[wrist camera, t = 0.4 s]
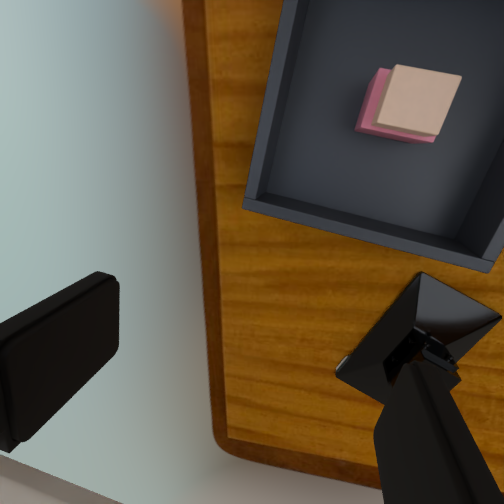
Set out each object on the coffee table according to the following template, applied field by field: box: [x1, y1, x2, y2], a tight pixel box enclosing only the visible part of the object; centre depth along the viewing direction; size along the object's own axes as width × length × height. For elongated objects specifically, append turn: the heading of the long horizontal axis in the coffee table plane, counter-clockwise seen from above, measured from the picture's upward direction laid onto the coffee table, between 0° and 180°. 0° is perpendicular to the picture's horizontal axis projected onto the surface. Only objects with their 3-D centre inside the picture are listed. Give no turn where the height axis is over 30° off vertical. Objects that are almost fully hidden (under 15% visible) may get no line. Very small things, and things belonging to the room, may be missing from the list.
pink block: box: [354, 64, 462, 144], centre depth 17 cm, size 3×4×6 cm
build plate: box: [336, 272, 502, 405], centre depth 24 cm, size 12×7×5 cm, turn 154°
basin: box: [242, 0, 504, 273], centre depth 18 cm, size 16×16×5 cm
